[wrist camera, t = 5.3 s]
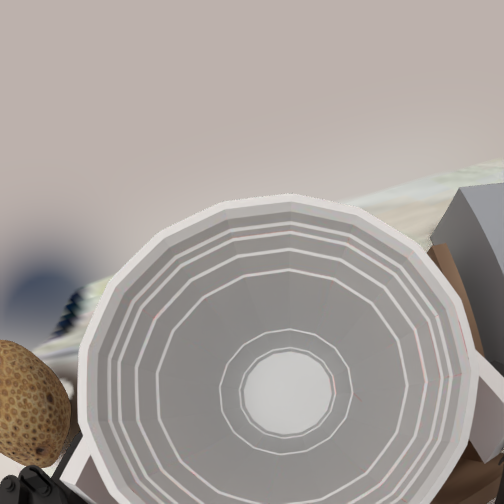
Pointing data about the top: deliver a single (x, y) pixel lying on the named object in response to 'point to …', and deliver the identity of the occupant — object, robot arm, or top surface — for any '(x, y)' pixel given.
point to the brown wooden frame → (470, 463)
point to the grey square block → (479, 257)
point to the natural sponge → (31, 408)
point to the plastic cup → (277, 362)
